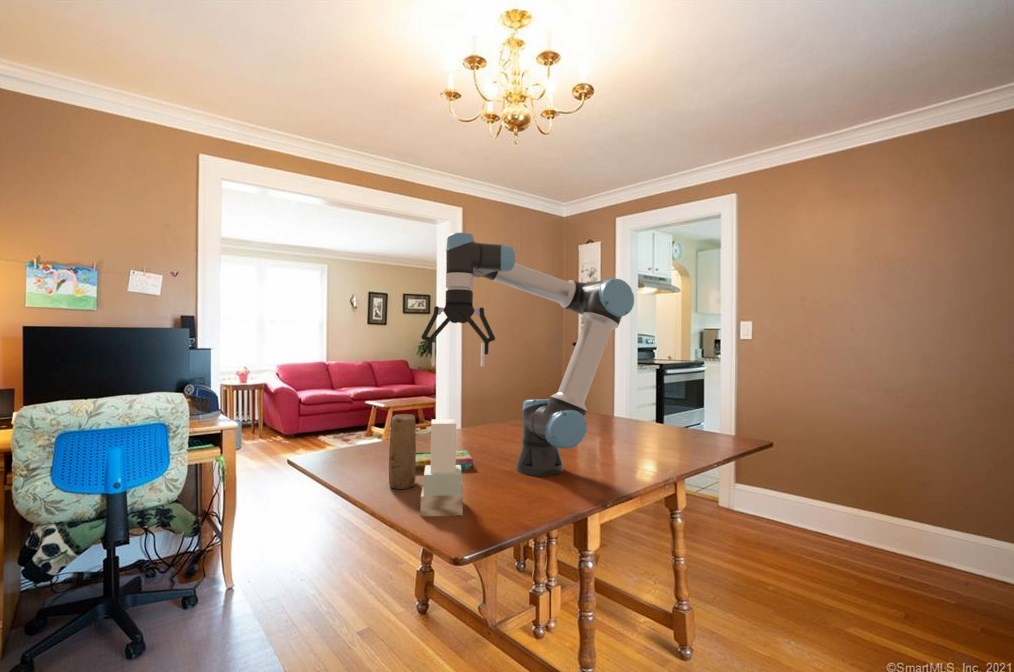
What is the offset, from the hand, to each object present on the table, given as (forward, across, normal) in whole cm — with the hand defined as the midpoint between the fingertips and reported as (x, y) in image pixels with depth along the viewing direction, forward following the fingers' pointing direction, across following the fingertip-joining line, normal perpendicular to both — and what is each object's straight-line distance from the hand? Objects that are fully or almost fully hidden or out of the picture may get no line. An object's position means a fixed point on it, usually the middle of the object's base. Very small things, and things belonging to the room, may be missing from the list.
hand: (458, 366), depth 138 cm
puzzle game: (+35, +4, -26) cm, 44 cm away
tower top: (+30, +4, +14) cm, 33 cm away
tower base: (+35, +4, +14) cm, 38 cm away
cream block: (+25, +4, +14) cm, 29 cm away
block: (+35, +15, -7) cm, 39 cm away
